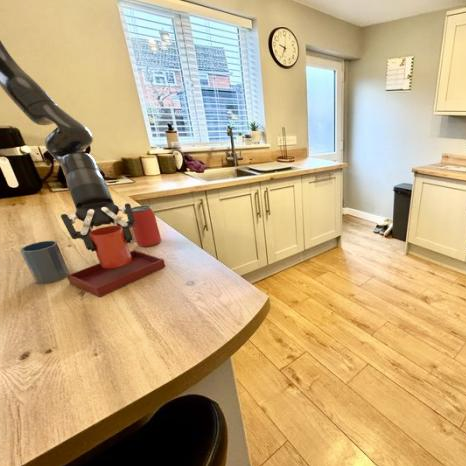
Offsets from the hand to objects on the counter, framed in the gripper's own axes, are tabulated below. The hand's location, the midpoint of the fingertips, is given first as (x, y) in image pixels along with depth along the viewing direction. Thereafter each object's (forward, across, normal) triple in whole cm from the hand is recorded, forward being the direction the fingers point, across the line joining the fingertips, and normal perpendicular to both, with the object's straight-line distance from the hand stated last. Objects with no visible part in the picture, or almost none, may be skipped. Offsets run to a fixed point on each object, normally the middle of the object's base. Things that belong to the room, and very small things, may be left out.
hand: (111, 245), depth 72 cm
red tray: (+5, 0, -8) cm, 9 cm away
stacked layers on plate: (-14, -8, -27) cm, 32 cm away
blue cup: (-2, +13, -15) cm, 20 cm away
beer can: (-7, -10, -20) cm, 24 cm away
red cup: (+3, 0, -5) cm, 6 cm away
